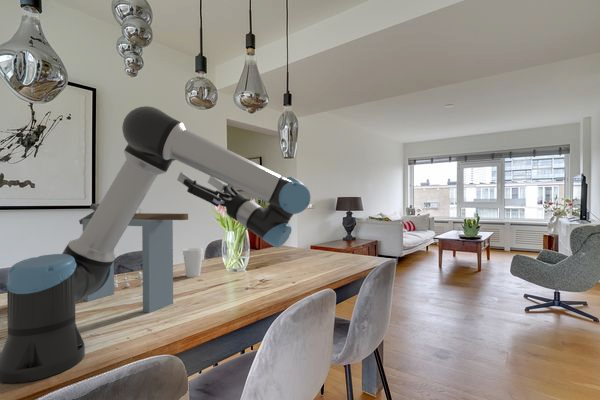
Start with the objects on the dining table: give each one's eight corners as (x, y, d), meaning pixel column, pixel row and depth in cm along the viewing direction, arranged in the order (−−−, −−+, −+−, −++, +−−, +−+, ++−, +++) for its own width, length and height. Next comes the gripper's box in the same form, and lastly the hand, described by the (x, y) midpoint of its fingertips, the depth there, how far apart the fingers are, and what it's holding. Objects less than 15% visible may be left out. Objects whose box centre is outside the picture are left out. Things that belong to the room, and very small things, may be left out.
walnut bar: (181, 220, 102) (181, 213, 102) (129, 219, 111) (129, 213, 111) (188, 219, 104) (188, 213, 104) (137, 218, 114) (137, 213, 114)
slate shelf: (149, 312, 102) (148, 220, 103) (82, 300, 116) (82, 219, 116) (173, 303, 112) (172, 218, 112) (109, 293, 125) (108, 217, 125)
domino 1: (94, 210, 117) (79, 220, 121) (95, 214, 117) (80, 224, 121) (107, 210, 122) (92, 219, 126) (108, 214, 122) (93, 223, 125)
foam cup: (178, 277, 151) (178, 250, 151) (190, 273, 160) (190, 247, 160) (195, 278, 148) (195, 250, 148) (207, 274, 157) (206, 248, 157)
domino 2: (107, 215, 115) (91, 203, 118) (106, 219, 115) (90, 207, 119) (120, 214, 119) (104, 203, 123) (118, 218, 119) (103, 207, 123)
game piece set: (126, 277, 153) (126, 269, 153) (166, 278, 151) (166, 270, 151) (97, 288, 134) (97, 279, 134) (142, 289, 132) (142, 280, 132)
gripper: (211, 224, 83) (159, 186, 90) (260, 219, 106) (216, 189, 113) (222, 199, 81) (169, 162, 89) (270, 199, 104) (224, 170, 112)
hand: (195, 177), depth 101 cm, fingers open, 13 cm apart
